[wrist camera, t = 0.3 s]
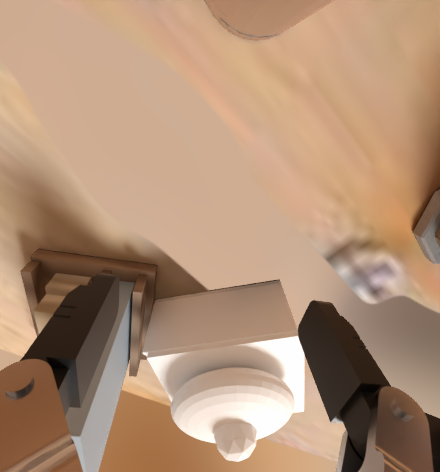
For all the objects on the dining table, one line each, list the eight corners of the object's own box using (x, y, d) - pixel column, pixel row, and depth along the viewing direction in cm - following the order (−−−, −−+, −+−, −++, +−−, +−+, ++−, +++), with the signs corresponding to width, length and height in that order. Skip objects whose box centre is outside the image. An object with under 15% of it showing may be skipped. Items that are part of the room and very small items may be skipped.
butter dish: (155, 298, 36) (123, 433, 22) (283, 278, 35) (331, 406, 21) (185, 368, 45) (176, 493, 31) (287, 354, 44) (322, 477, 30)
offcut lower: (56, 272, 30) (44, 287, 28) (91, 277, 31) (82, 291, 29) (67, 345, 37) (59, 361, 35) (96, 347, 38) (89, 363, 36)
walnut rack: (38, 249, 30) (13, 273, 26) (157, 265, 32) (150, 290, 28) (56, 343, 39) (40, 371, 36) (148, 351, 41) (142, 378, 38)
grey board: (115, 280, 31) (43, 435, 18) (135, 282, 32) (80, 436, 18) (115, 349, 38) (65, 497, 25) (132, 350, 39) (90, 497, 25)
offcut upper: (46, 294, 29) (33, 311, 27) (83, 298, 29) (73, 315, 27) (58, 356, 35) (48, 375, 33) (89, 359, 35) (81, 377, 33)
